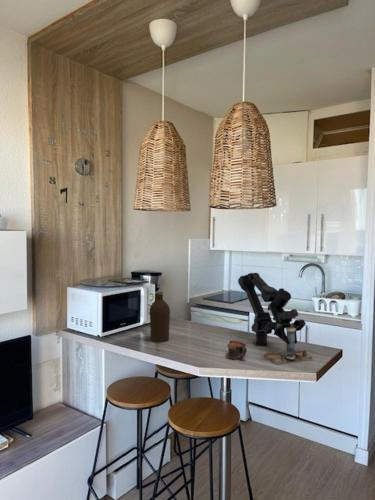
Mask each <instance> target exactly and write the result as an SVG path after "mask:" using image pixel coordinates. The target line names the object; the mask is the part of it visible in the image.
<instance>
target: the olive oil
mask: <svg viewBox="0 0 375 500" xmlns="http://www.w3.org/2000/svg"><path fill="white" fill-rule="evenodd" d="M155 295H156V299H155V300H154V301H153V302H152V303H151V305H150V307H149V313H148V314H149V324H150V325H149V326H150V340H151V342H154V343H165V342H168V341H169V340H170V320H171V308H170V305H169V304H168V303H167V302H166V301H165V300H164V294H163V291H156V294H155Z"/></svg>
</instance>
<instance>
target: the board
mask: <svg viewBox="0 0 375 500" xmlns="http://www.w3.org/2000/svg"><path fill="white" fill-rule="evenodd" d="M286 351H287V350H283V351H277V352H267V353H263V358H265V359H267V360H269V361H270V362H271V363H272V364H275V365H283V364H287V363H288V359H287V358H286V355H287V354H295V359H296V358H297V359H298V360H300V361H302V362H306V361H312V360H313V355H311V354H308V353H307V349H301V350H300V349H295V351H292V352H286Z"/></svg>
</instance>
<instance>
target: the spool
mask: <svg viewBox="0 0 375 500" xmlns="http://www.w3.org/2000/svg"><path fill="white" fill-rule="evenodd" d="M285 330H286V331H285V332H286V336H287V338H288V340H289V345H288V344H286V350H285V351H286V352H292V351H295V350H296V349H295V347H296V346H295V345H296V344H295V331H296V328H294V327H287V328H285ZM296 332H297V331H296ZM285 359H286V360H295V359H296V357H295V354H287V355H286V358H285Z"/></svg>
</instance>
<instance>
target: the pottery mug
mask: <svg viewBox="0 0 375 500" xmlns="http://www.w3.org/2000/svg"><path fill="white" fill-rule="evenodd" d="M226 347H227V348H228V352H226V353H225V358H226V359H231V360H236V361H238V359H242V358H244V356H246V353H247V347H246V343H244V342H242V341H239V340H229V343H228V344H227V345H226Z"/></svg>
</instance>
